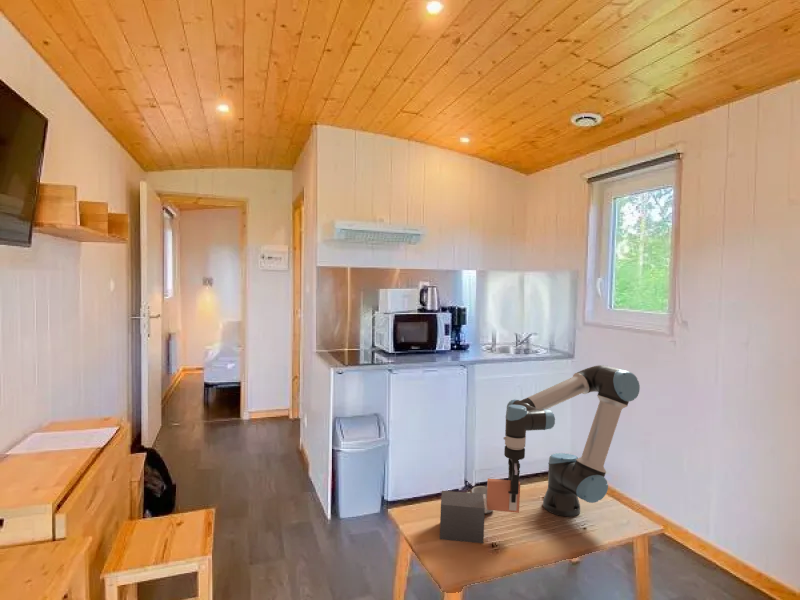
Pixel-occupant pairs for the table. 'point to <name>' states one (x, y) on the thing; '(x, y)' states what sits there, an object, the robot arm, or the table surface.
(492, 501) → the salmon orange rectangular slab
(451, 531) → the block
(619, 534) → the table surface
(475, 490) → the teacup
